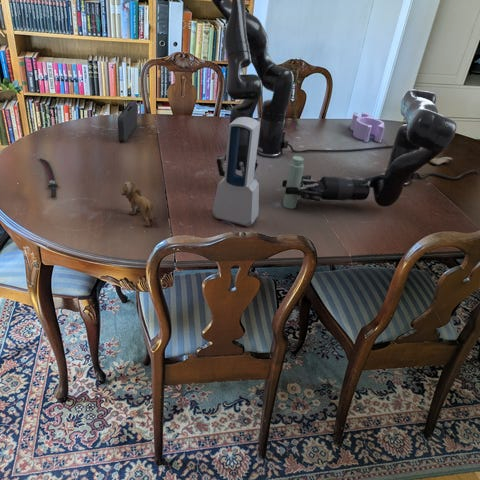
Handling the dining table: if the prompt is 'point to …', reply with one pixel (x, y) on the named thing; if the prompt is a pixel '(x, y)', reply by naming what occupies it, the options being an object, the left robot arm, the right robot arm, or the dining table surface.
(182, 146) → the dining table surface
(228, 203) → the electronic device
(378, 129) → the clip
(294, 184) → the pale green tube
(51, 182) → the sword
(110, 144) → the dining table surface
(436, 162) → the jawbone
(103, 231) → the dining table surface
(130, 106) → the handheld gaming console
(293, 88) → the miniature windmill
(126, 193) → the lion figurine
